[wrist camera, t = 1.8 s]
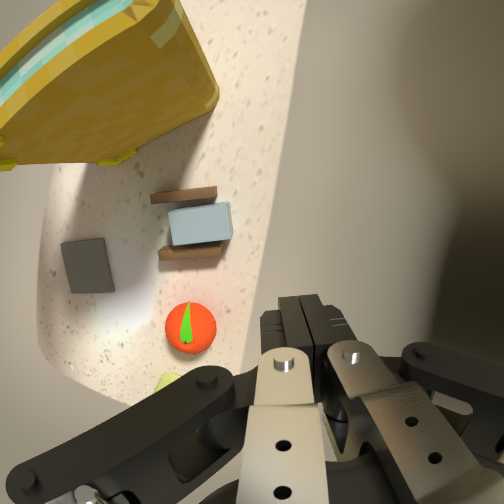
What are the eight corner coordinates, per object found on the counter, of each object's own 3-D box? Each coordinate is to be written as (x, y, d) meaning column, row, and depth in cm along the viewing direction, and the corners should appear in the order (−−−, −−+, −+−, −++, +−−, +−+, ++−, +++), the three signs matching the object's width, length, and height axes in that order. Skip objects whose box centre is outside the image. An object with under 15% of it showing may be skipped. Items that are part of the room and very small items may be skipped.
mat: (62, 243, 39) (60, 243, 38) (103, 238, 39) (101, 239, 38) (73, 291, 41) (71, 293, 40) (114, 290, 41) (112, 292, 40)
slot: (156, 193, 37) (150, 194, 35) (216, 186, 37) (214, 187, 34) (164, 255, 39) (159, 260, 37) (222, 250, 39) (221, 256, 37)
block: (176, 208, 38) (167, 212, 34) (229, 201, 38) (226, 204, 34) (181, 238, 39) (173, 245, 35) (233, 232, 39) (231, 239, 35)
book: (114, 165, 36) (-32, 175, 12) (98, 124, 34) (-44, 100, 10) (228, 107, 34) (184, 7, 10) (207, 65, 33) (149, -57, 8)
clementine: (171, 284, 40) (156, 306, 34) (220, 289, 41) (214, 313, 34) (172, 333, 43) (160, 360, 36) (218, 339, 43) (212, 367, 36)
